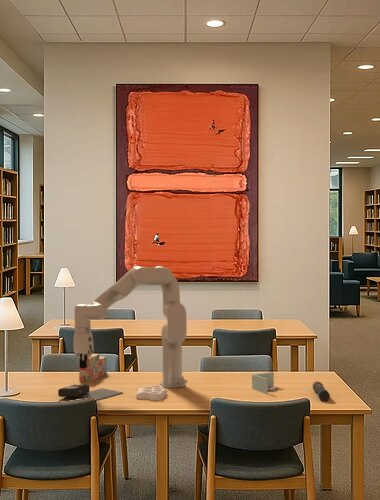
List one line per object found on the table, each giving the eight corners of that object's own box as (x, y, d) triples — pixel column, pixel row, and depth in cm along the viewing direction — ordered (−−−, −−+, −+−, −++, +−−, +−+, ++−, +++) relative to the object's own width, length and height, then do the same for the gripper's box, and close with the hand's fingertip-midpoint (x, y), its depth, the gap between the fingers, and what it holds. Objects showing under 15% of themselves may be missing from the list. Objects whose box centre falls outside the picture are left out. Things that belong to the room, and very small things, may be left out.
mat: (123, 393, 354) (123, 392, 354) (96, 400, 340) (96, 399, 340) (102, 389, 363) (102, 388, 363) (74, 396, 348) (74, 395, 348)
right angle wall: (265, 394, 352) (265, 379, 351) (252, 389, 362) (251, 374, 362) (286, 391, 357) (286, 376, 357) (272, 386, 368) (272, 371, 368)
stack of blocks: (96, 373, 402) (95, 350, 402) (106, 373, 400) (106, 350, 400) (79, 381, 382) (78, 357, 381) (90, 382, 380) (90, 358, 379)
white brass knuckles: (138, 392, 358) (168, 391, 358) (135, 401, 340) (167, 401, 340) (138, 385, 358) (168, 385, 358) (135, 394, 340) (167, 393, 340)
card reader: (90, 384, 353) (75, 388, 339) (90, 392, 353) (75, 397, 339) (73, 384, 356) (57, 388, 342) (73, 392, 356) (58, 397, 342)
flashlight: (318, 401, 336) (318, 390, 336) (311, 390, 358) (311, 380, 358) (330, 401, 336) (330, 390, 336) (322, 390, 358) (322, 380, 358)
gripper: (99, 330, 355) (99, 368, 356) (77, 327, 364) (78, 365, 365) (87, 332, 349) (88, 371, 350) (66, 329, 358) (66, 367, 359)
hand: (83, 368), depth 357 cm, fingers closed
